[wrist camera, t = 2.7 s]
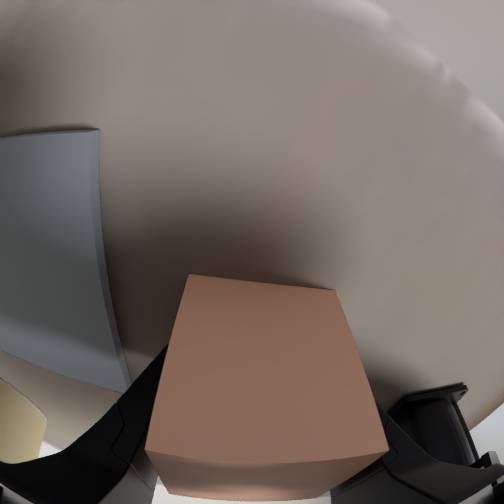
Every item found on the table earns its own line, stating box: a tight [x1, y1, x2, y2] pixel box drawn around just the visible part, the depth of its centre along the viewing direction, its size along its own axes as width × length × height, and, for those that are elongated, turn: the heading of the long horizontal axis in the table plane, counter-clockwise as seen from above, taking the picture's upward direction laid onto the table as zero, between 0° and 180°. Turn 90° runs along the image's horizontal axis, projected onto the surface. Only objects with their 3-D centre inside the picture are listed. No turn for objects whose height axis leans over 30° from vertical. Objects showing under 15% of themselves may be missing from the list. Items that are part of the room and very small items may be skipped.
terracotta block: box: [145, 274, 389, 501], centre depth 8 cm, size 5×5×6 cm
